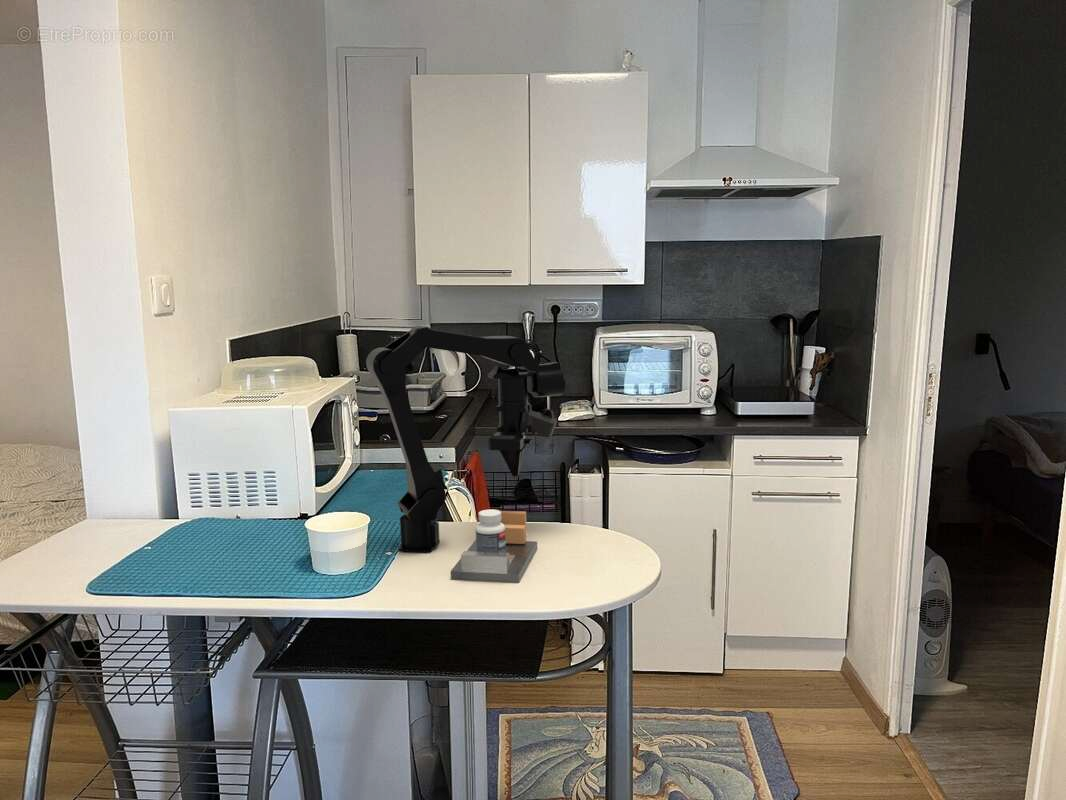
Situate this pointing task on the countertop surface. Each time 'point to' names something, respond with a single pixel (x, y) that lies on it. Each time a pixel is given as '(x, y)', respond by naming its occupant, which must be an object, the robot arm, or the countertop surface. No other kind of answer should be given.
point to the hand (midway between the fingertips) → (515, 476)
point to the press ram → (514, 526)
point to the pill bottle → (490, 532)
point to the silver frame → (494, 563)
